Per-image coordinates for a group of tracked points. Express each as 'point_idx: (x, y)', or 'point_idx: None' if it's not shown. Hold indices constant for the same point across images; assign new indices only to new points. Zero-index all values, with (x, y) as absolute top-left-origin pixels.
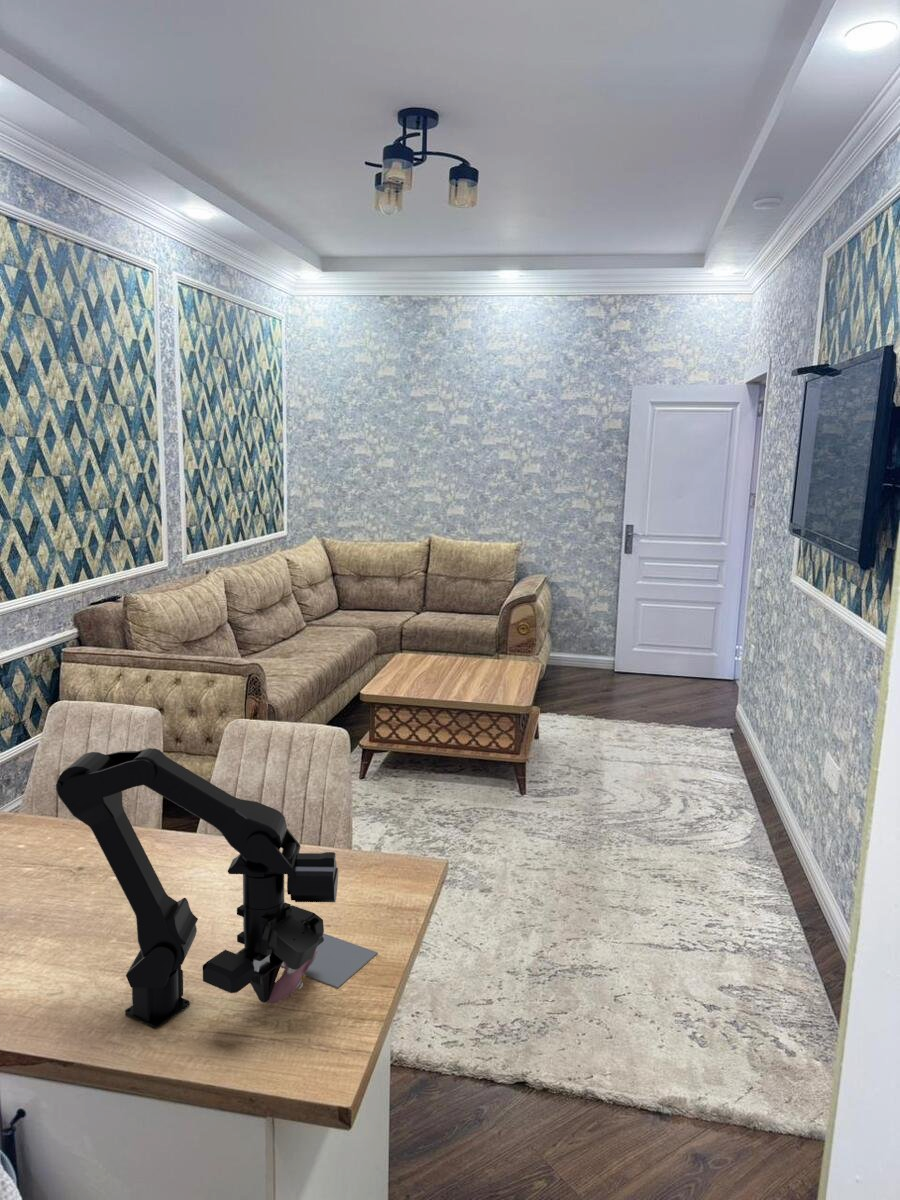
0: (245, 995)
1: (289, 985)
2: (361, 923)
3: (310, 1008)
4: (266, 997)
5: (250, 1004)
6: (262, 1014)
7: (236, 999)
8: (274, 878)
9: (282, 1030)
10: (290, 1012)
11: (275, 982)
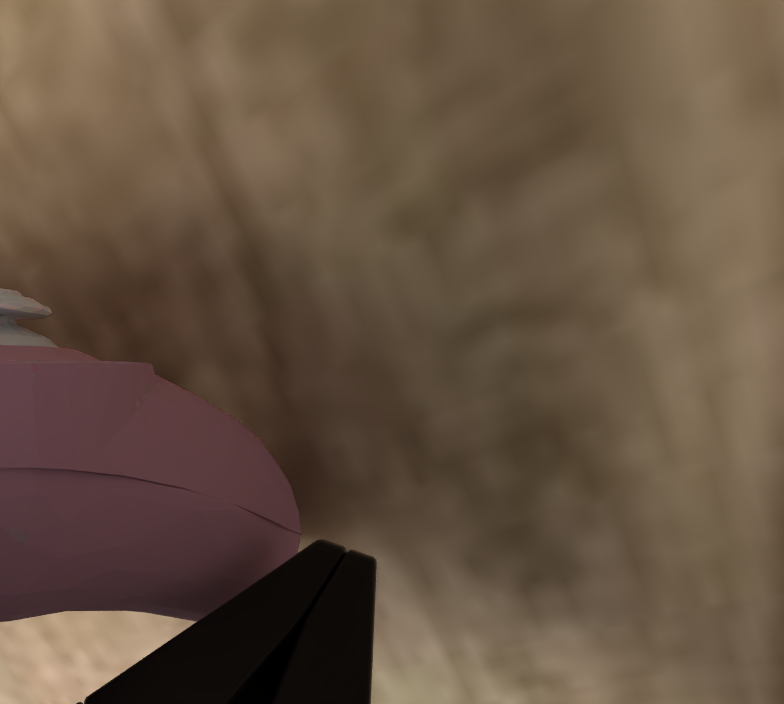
0: None
1: (72, 448)
2: None
3: (152, 99)
4: (352, 599)
5: None
6: (432, 497)
7: None
8: None
9: (603, 214)
10: (299, 271)
11: (128, 610)
